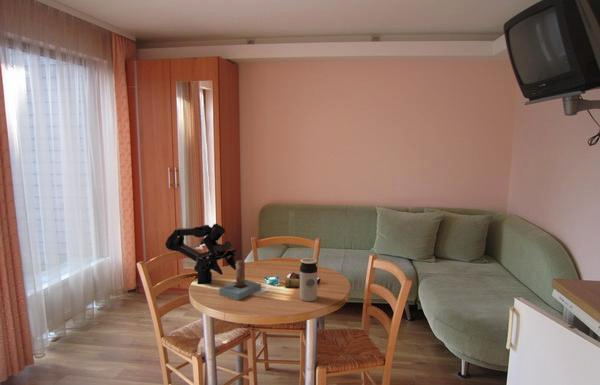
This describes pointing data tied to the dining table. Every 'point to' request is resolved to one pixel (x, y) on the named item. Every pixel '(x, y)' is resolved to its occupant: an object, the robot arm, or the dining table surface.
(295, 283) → the gavel
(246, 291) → the socket board
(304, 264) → the travel mug
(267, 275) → the dining table surface
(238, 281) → the peg
